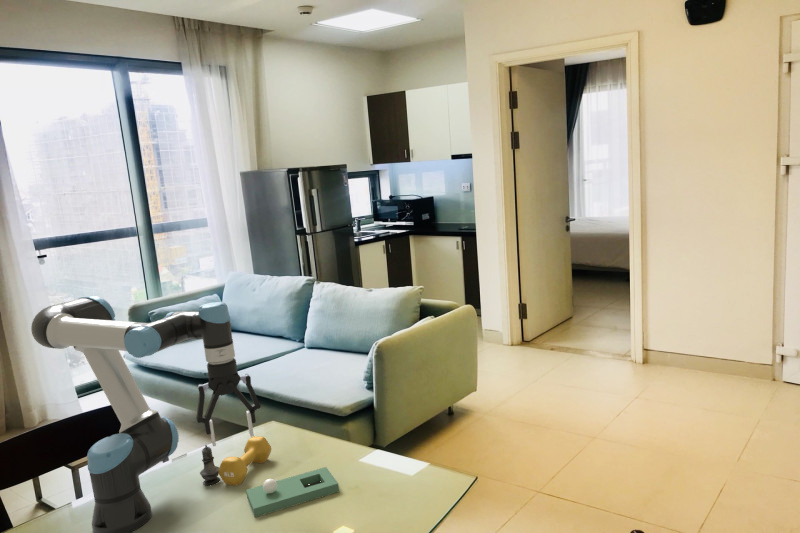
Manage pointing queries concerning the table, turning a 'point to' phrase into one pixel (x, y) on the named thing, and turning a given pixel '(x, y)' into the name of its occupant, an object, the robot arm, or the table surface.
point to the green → (292, 491)
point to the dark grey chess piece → (209, 468)
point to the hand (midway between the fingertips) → (233, 439)
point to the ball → (270, 486)
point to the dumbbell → (244, 460)
